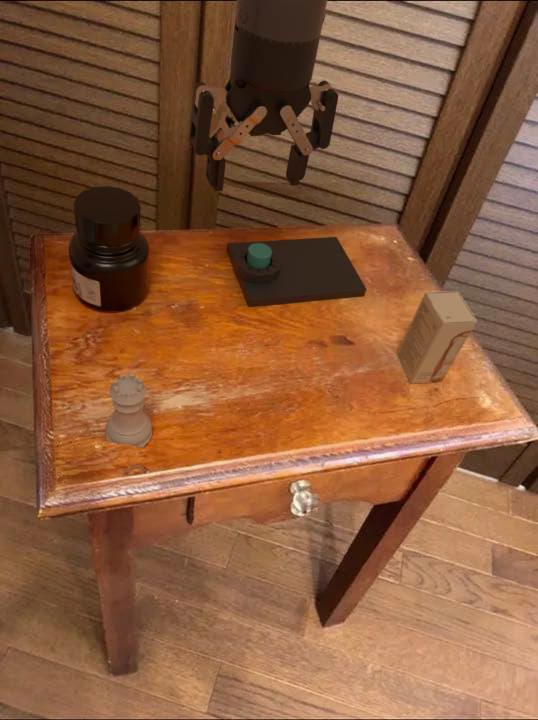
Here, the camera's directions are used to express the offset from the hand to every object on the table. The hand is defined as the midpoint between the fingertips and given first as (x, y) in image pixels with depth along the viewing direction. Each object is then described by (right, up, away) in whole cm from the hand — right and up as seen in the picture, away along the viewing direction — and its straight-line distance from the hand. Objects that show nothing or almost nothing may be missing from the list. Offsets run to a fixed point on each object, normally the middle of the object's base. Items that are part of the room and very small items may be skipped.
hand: (254, 184), depth 63 cm
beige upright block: (+19, -20, +8) cm, 29 cm away
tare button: (0, -6, +12) cm, 14 cm away
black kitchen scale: (+5, -7, +16) cm, 18 cm away
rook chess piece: (-12, -26, -5) cm, 29 cm away
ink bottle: (-18, -10, +8) cm, 22 cm away
